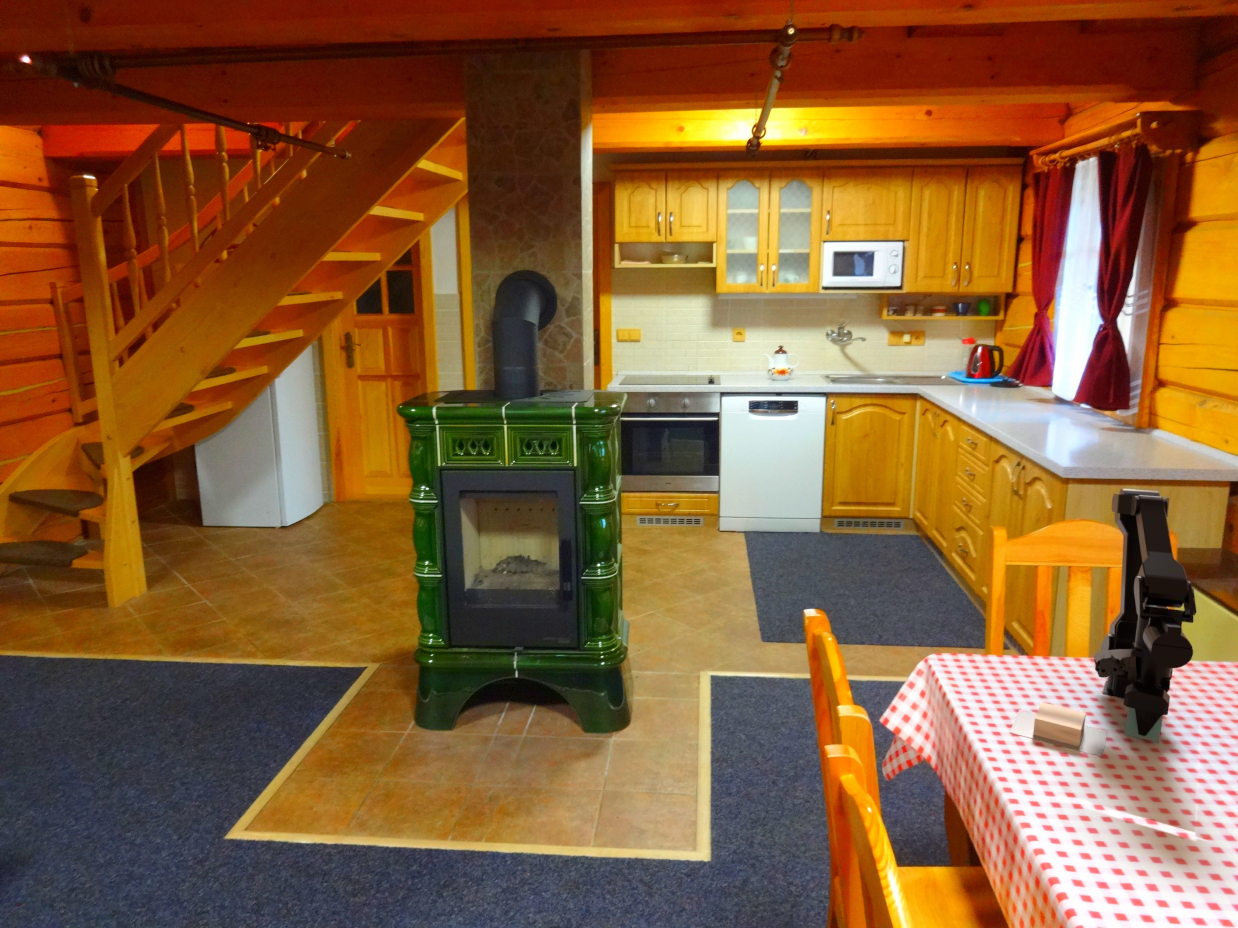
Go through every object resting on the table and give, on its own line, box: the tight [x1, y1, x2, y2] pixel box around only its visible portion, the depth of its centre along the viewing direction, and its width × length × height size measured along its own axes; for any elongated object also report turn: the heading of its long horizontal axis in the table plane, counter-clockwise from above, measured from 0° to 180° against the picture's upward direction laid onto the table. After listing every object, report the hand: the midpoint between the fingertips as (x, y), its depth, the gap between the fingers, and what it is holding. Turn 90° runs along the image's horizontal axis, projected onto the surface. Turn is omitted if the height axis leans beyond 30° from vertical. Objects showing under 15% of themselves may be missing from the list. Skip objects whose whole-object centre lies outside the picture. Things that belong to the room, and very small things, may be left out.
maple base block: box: [1033, 701, 1087, 746], centre depth 150 cm, size 7×7×3 cm
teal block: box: [1124, 707, 1164, 743], centre depth 149 cm, size 5×5×6 cm
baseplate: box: [1009, 708, 1109, 758], centre depth 150 cm, size 10×14×1 cm
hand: (1143, 728), depth 150 cm, fingers closed on teal block, 5 cm apart
